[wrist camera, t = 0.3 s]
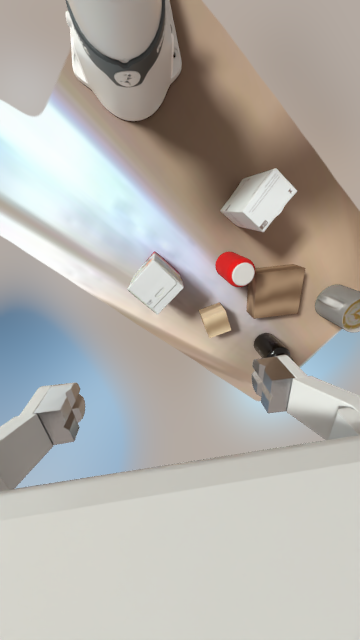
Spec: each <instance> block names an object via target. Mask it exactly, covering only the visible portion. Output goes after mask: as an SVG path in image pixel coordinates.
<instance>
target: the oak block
mask: <svg viewBox="0 0 360 640" xmlns="http://www.w3.org/2000/svg"><path fill="white" fill-rule="evenodd" d="M199 312H200V315H201V318H202V321H203V324H204V327H205V329H206V331H207V334H208V336H209V338H212V337H214V336H217V335H220V334H223V333H225V332H228V331H231V328H230V324H229V321H228V317H227V314H226V311H225V309H224V308H223V307H222V305H221V304H220V303H217V304H214V305H211V306H208V307H206V308H203V309H200V310H199Z"/></svg>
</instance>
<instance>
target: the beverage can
mask: <svg viewBox="0 0 360 640" xmlns="http://www.w3.org/2000/svg"><path fill="white" fill-rule="evenodd" d="M216 270H217V272H218V274H219V275H221V276H222V277H223V278H224V279H225V280H226V281H227V282H229V283H230V284H231V285H233V286H235V287H243V286H246V285H248V284H249V283H250V282H251V281H252V280H253V278H254V275H255V266H254V264H253V262H252V261H251V260H249V259H247V258H245V257H243V256H240V255H238V254H236V253H233V252H225V253H223V254H221V255H220V256H219V257H218V259H217V261H216Z"/></svg>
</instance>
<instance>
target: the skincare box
mask: <svg viewBox="0 0 360 640" xmlns="http://www.w3.org/2000/svg"><path fill="white" fill-rule="evenodd" d="M296 193H297V190H296V189H295V188H294V187H293V185H292V184H291V183H290V182H289V181H288V180H287V179H286V178H285V177H284V176H283V175H282V174H281V173H280V172H279V171H278V169H277V168H275V169H272V170H269V171H266V172H262V173H259V174H256V175H253V176H250V177H247V178H244V179H242V181H241V182H240V184H239V186H238V187H237V189H236V190H235V191H234V193H233V194H232V196H231V197H230V198H229V200H228V201H227V202H226V204H225V205H224V206H223V207H222V209H221V210H220V211H221V212H222V213H223V214H224V215H225V216H226V217H227V218H228V219H229V220H231V221H232V222H233V223H234V224H235V225H236V226H238V227H243V228H247V229H251V230H256V231H260V232H264V231H265V230H266V229H267V227H268V226H269V225H270V224H271V222H272V221H273V220H274V219H275V217H277V216H278V215H279V214H280V213H281V212H282V210H283V208H284V206H285V205H286V204H287V203H288V201H289V200H290V199H291V198H292V197H293V196H294V195H295V194H296Z"/></svg>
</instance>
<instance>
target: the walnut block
mask: <svg viewBox="0 0 360 640" xmlns="http://www.w3.org/2000/svg"><path fill="white" fill-rule="evenodd" d="M304 273H305V268H303V267H300V266H297V265H294V264H291V265H282V266H273V267H263V268H255V275H254V278H253V280H252V281H251V282H250V283H249V284H248V296H247V312H248V313H249V314H250V315H251V316H252V317H253V318H254V319H256V318H264V317H272V316H280V315H288V314H297V313H298V309H299V303H300V297H301V291H302V285H303V279H304Z"/></svg>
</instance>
